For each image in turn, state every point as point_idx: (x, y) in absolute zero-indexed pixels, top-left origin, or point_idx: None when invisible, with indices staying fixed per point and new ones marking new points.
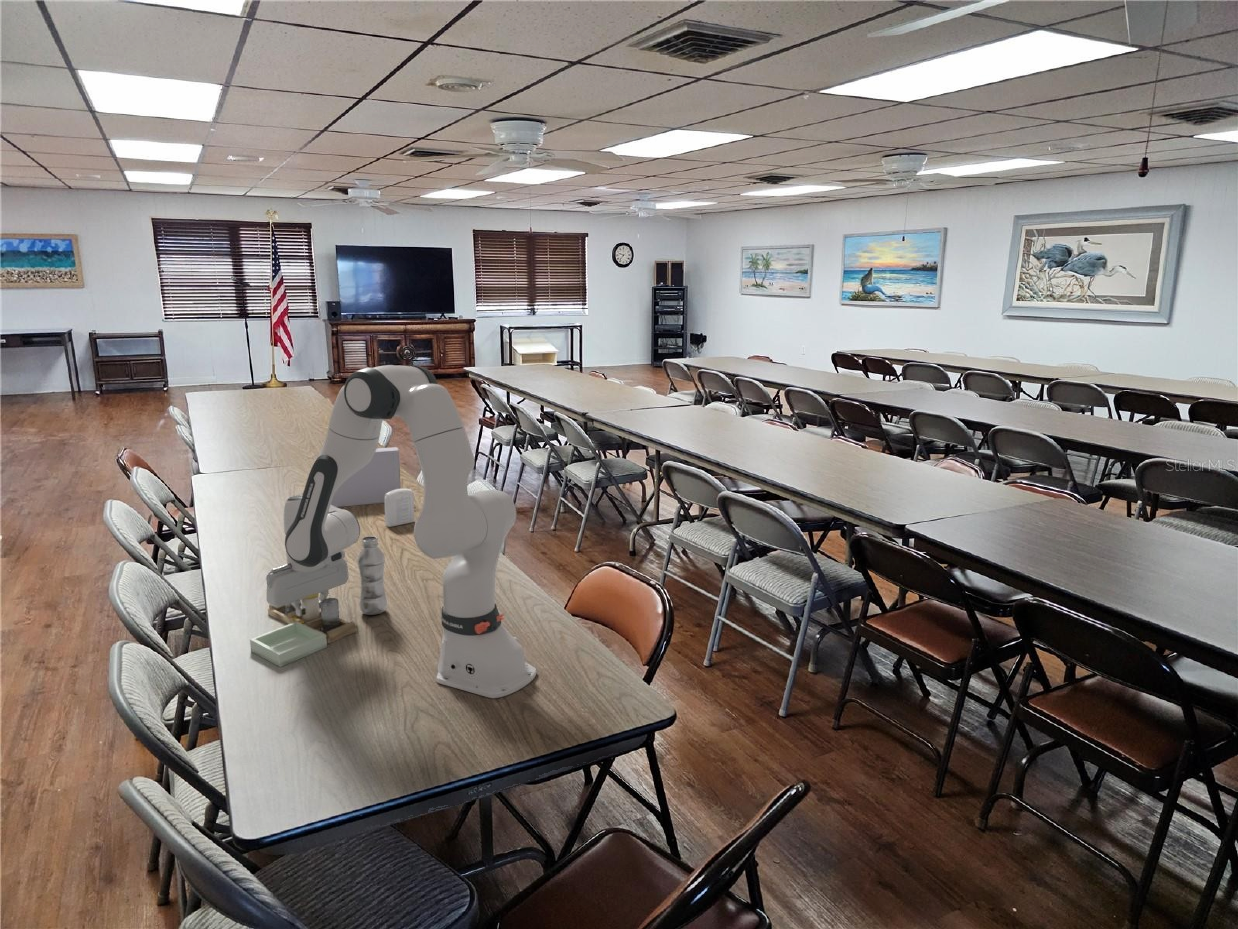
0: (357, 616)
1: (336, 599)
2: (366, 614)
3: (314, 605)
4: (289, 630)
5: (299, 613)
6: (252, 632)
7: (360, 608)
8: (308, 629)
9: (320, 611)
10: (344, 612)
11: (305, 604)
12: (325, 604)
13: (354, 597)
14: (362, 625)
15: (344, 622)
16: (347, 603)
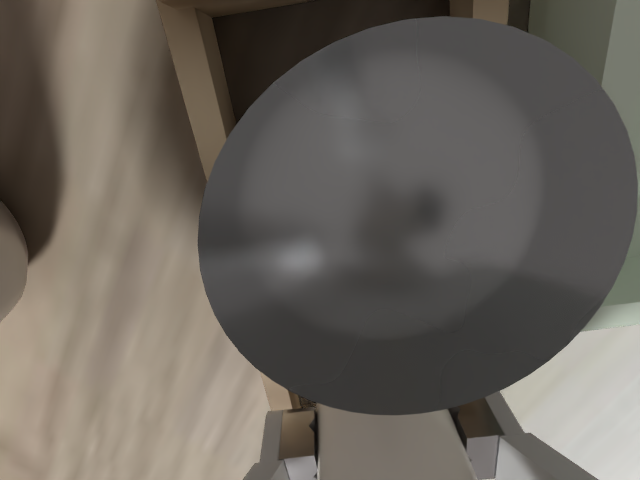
0: (83, 248)
1: (225, 255)
2: (2, 203)
3: (397, 431)
4: (619, 279)
5: (507, 407)
6: (628, 421)
7: (11, 273)
8: (629, 115)
9: (286, 406)
10: (146, 348)
11: (474, 477)
12: (607, 151)
13: (39, 462)
14: (88, 70)
15: (220, 135)
16: (94, 428)
